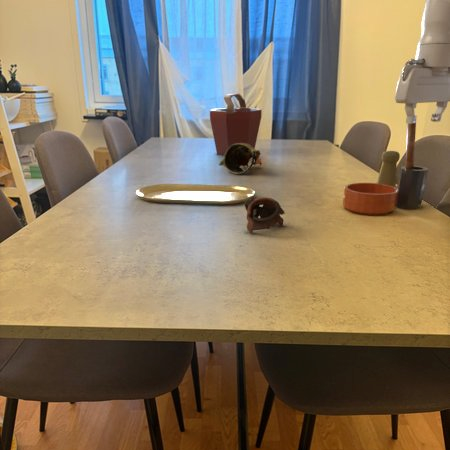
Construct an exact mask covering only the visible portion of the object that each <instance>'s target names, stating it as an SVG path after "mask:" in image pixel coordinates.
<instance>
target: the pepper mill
mask: <svg viewBox="0 0 450 450" xmlns="http://www.w3.org/2000/svg"><path fill="white" fill-rule="evenodd" d="M400 158H401V156H400V153H399V151H396V150H385V151H383V153H382V155H381V161H382V165H381V167H380V171H379V174H378V178H377V181H376V183H379V184H385V185H390V186H393V187H396V188H397V167H398V165H397V164H398V162H400V161H399V160H400Z"/></svg>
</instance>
